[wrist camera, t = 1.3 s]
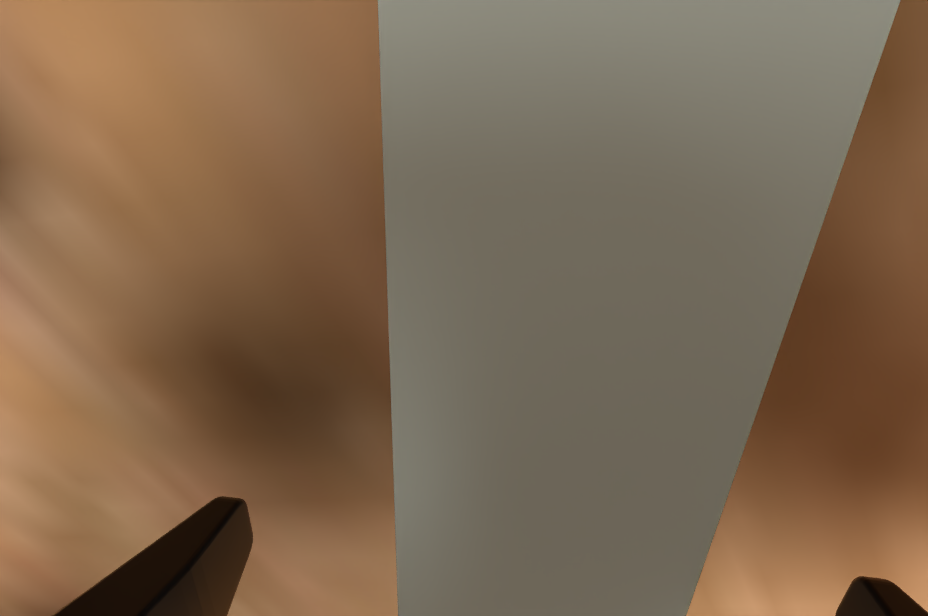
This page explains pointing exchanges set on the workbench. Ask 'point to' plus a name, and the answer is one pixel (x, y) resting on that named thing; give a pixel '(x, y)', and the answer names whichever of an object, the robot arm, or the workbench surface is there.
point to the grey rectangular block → (595, 278)
